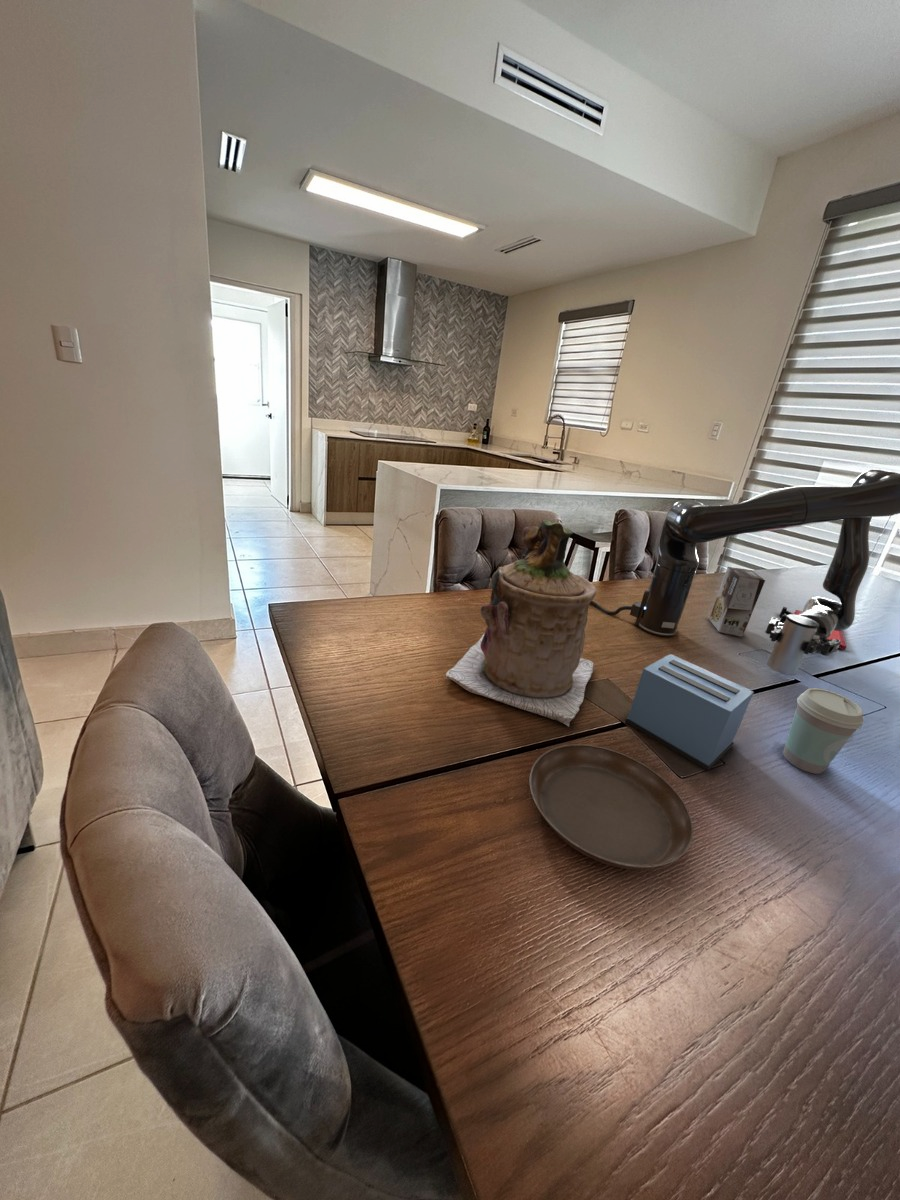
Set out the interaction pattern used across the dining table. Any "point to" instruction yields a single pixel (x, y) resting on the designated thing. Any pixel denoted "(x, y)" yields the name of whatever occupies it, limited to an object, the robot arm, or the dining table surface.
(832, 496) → the robot arm
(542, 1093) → the dining table surface
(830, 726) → the coffee cup
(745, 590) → the coffee box
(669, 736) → the toaster
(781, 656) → the canister
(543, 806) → the plant saucer
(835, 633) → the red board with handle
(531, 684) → the cookie jar
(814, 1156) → the dining table surface
